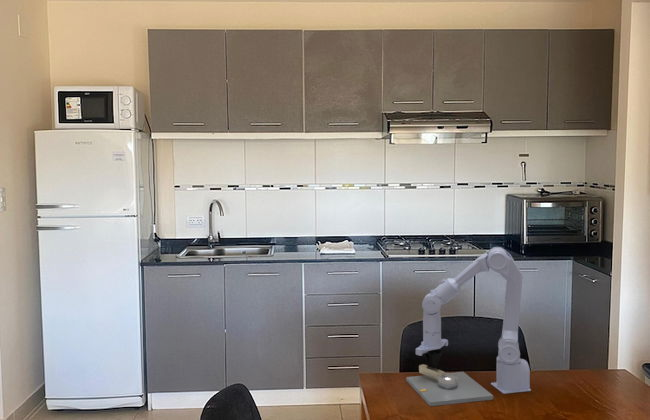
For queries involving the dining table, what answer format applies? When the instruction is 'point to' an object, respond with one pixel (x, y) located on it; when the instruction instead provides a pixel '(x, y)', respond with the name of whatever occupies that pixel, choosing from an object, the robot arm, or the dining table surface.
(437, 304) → the robot arm
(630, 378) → the dining table surface
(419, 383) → the lock plate
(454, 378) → the door lever handle
